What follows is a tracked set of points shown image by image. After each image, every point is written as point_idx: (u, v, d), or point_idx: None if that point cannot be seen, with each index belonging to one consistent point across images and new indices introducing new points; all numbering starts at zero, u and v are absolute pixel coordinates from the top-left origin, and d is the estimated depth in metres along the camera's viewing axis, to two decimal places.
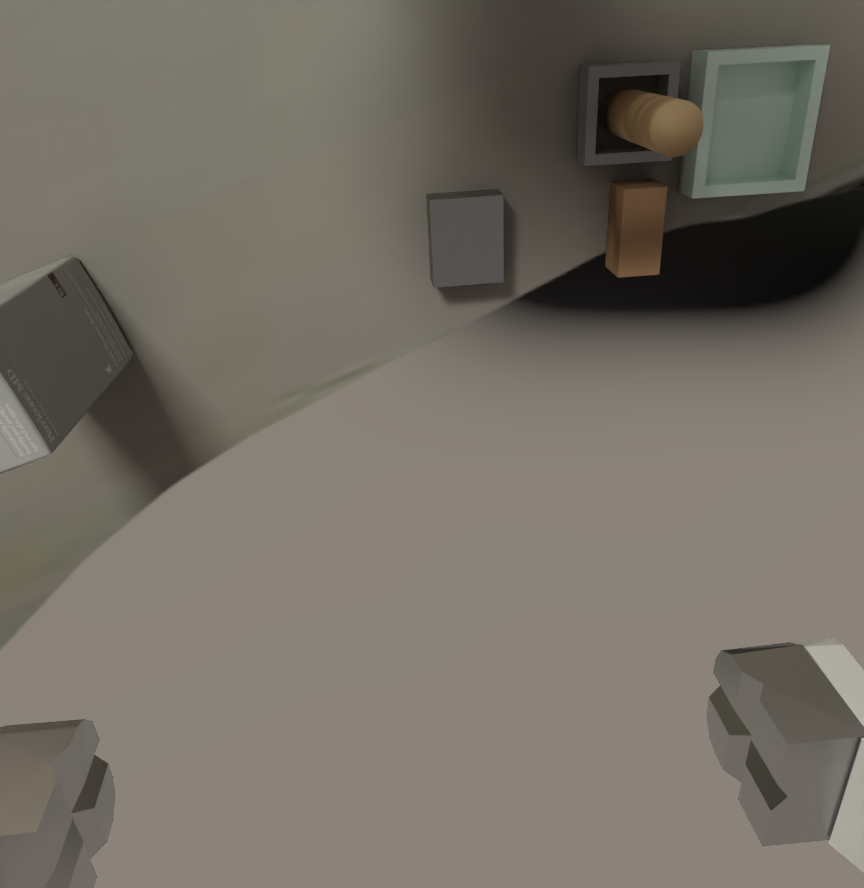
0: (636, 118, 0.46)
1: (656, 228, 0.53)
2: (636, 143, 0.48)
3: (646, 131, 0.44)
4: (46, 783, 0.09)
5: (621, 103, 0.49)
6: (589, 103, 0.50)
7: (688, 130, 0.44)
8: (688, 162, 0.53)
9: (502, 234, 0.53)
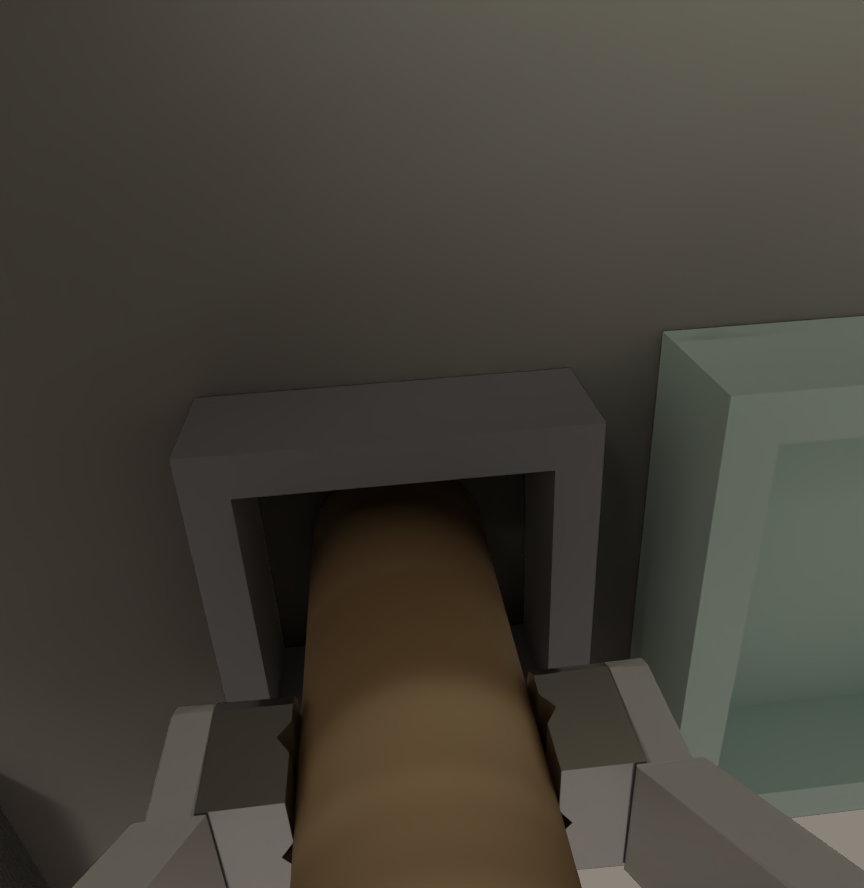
0: None
1: None
2: None
3: None
4: (279, 757, 0.09)
5: (318, 636, 0.10)
6: (210, 584, 0.12)
7: None
8: None
9: None
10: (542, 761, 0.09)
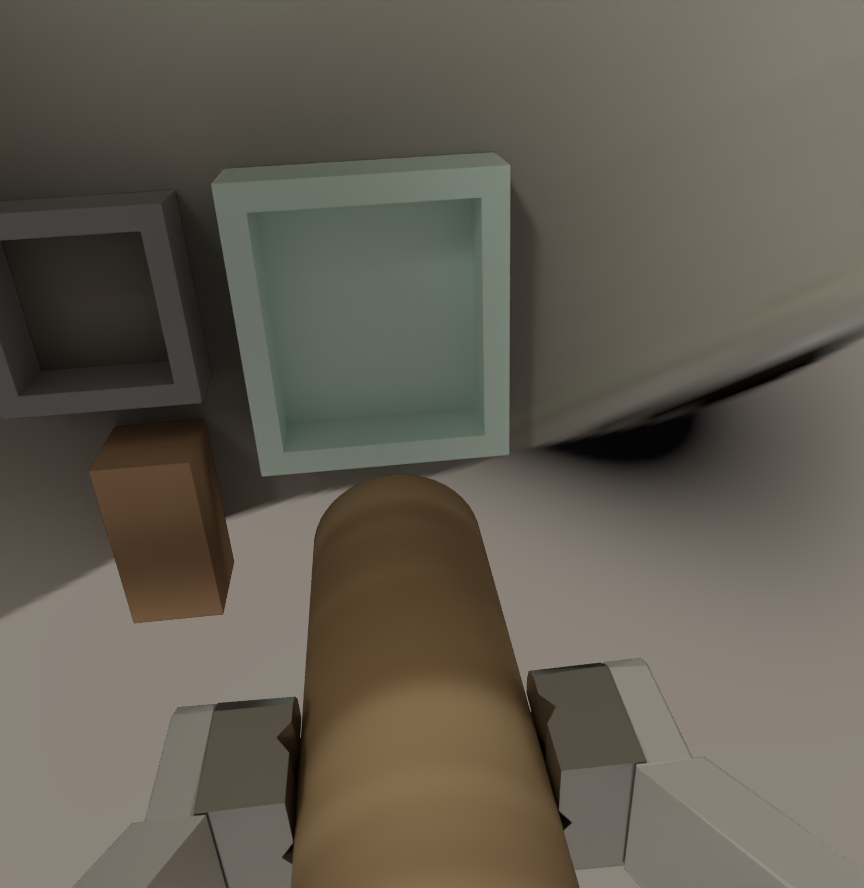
0: None
1: (190, 537, 0.25)
2: None
3: None
4: (279, 757, 0.09)
5: (319, 643, 0.10)
6: None
7: None
8: None
9: None
10: (540, 764, 0.09)
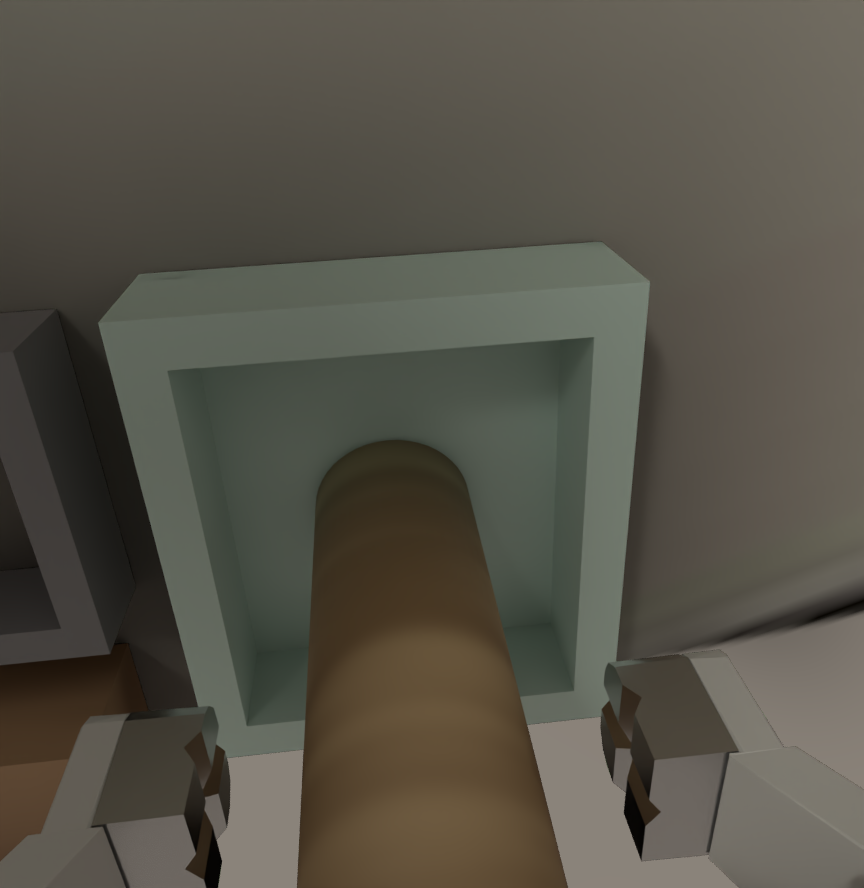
0: (299, 864, 0.09)
1: None
2: None
3: None
4: (184, 767, 0.09)
5: (322, 594, 0.12)
6: None
7: None
8: None
9: None
10: (516, 699, 0.10)
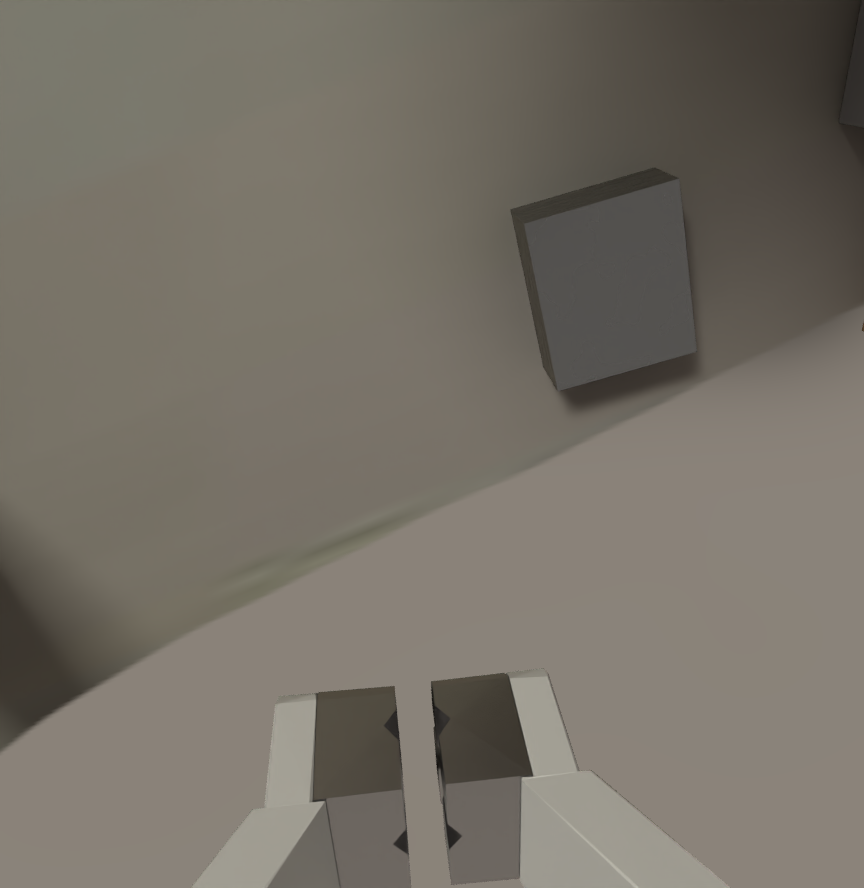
0: None
1: None
2: None
3: None
4: (389, 744, 0.09)
5: None
6: None
7: None
8: None
9: (685, 259, 0.25)
10: None
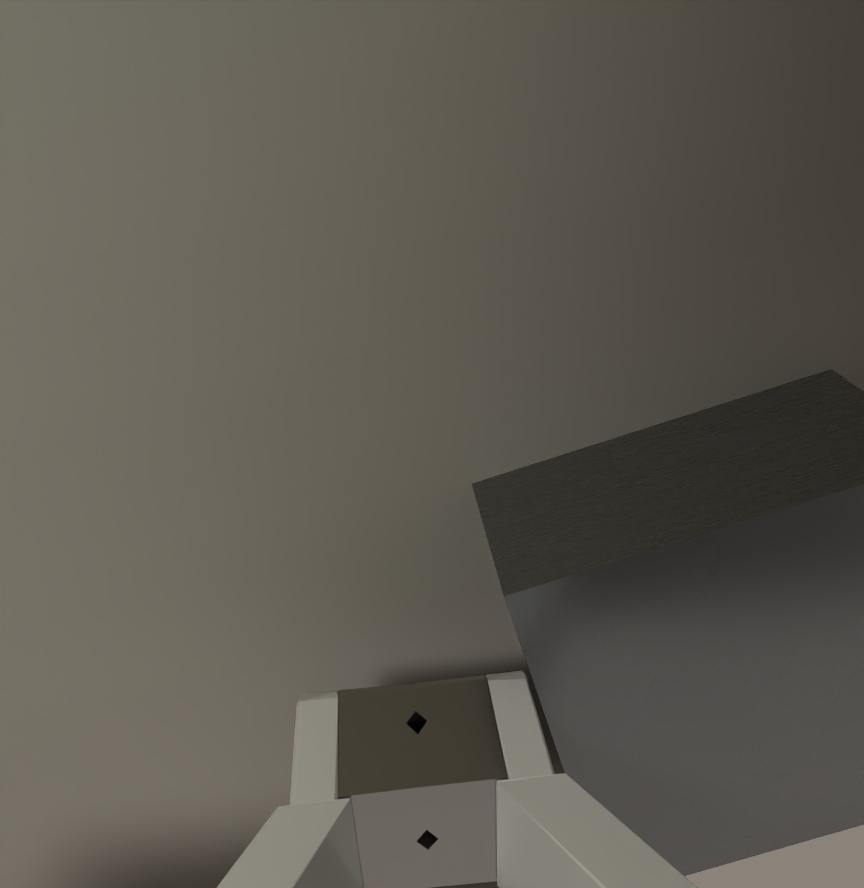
0: None
1: None
2: None
3: None
4: (412, 742, 0.09)
5: None
6: None
7: None
8: None
9: None
10: None
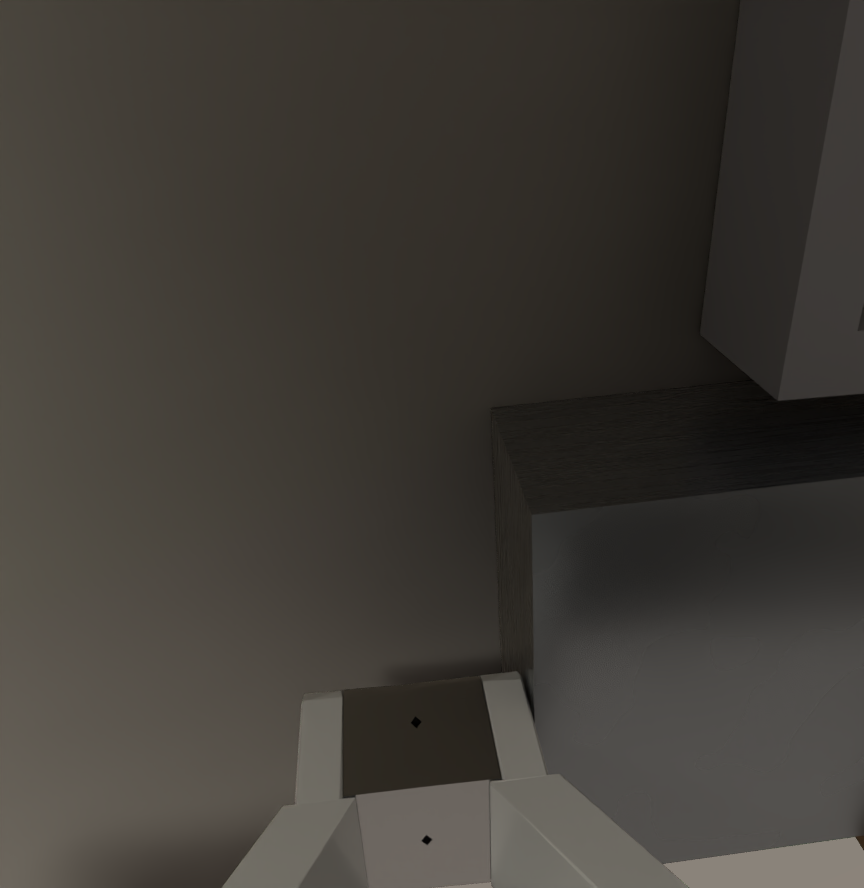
0: None
1: None
2: None
3: None
4: (417, 742, 0.09)
5: None
6: None
7: None
8: None
9: None
10: None
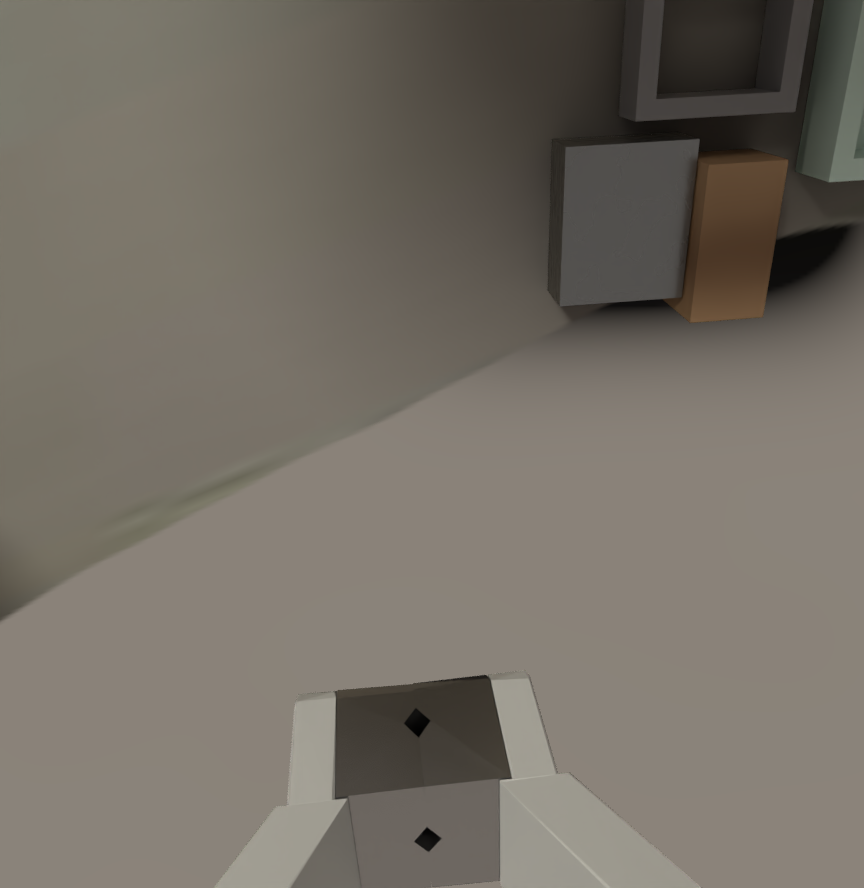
0: None
1: (764, 236, 0.30)
2: None
3: None
4: (410, 742, 0.09)
5: None
6: None
7: None
8: (822, 116, 0.29)
9: (689, 212, 0.30)
10: None
